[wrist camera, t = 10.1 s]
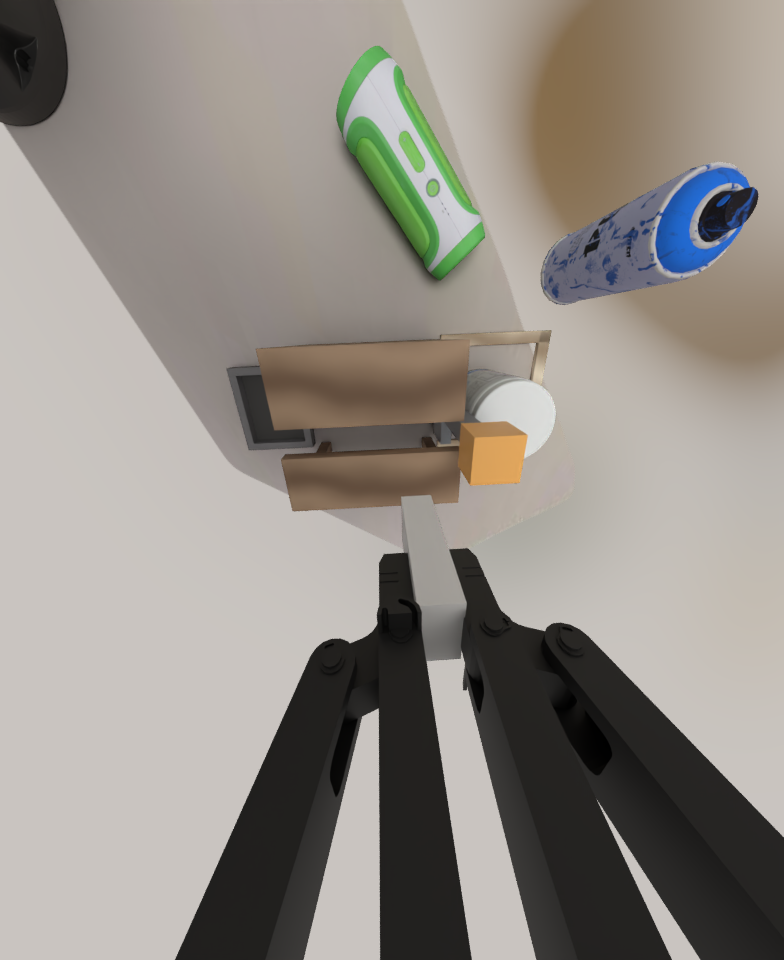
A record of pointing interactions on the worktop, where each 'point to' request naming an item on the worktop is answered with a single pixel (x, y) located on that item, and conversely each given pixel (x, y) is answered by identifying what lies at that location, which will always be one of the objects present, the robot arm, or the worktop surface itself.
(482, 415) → the supplement tub
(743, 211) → the aerosol can
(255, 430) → the tray
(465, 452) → the slider
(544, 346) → the frame
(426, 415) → the walnut tunnel
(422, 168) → the speaker
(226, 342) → the worktop surface
